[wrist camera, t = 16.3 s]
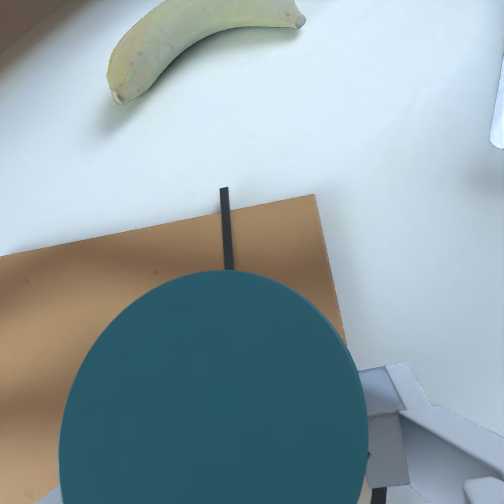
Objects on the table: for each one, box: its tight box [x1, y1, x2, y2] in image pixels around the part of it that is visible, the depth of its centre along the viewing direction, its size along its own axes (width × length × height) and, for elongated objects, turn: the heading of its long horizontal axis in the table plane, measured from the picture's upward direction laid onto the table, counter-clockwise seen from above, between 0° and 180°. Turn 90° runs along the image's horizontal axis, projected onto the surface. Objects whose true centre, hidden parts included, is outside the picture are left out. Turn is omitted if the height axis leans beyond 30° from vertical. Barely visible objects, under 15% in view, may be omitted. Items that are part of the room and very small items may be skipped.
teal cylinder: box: [57, 270, 369, 504], centre depth 10 cm, size 4×4×11 cm
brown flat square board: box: [0, 187, 387, 504], centre depth 18 cm, size 22×21×1 cm
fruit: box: [107, 0, 306, 105], centre depth 29 cm, size 7×15×3 cm, turn 115°
